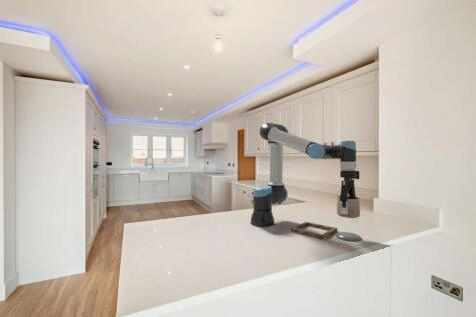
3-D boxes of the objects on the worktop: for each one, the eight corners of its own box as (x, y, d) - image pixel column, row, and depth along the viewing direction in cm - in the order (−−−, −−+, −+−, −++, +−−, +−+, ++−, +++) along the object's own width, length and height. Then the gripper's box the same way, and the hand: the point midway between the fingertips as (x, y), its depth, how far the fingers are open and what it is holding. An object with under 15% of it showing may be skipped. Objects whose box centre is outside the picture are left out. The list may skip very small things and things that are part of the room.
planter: (336, 216, 114) (336, 198, 114) (337, 212, 124) (337, 195, 124) (360, 219, 109) (360, 200, 109) (359, 214, 119) (359, 196, 119)
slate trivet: (332, 237, 116) (332, 235, 116) (339, 231, 125) (339, 230, 125) (357, 243, 108) (357, 241, 108) (363, 237, 117) (363, 235, 117)
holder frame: (290, 231, 125) (290, 228, 125) (305, 224, 139) (305, 221, 139) (324, 239, 112) (324, 236, 112) (337, 231, 126) (337, 228, 126)
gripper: (349, 171, 105) (349, 217, 105) (361, 169, 123) (361, 209, 122) (332, 170, 111) (332, 214, 110) (347, 169, 128) (347, 207, 127)
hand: (348, 212), depth 116 cm, fingers closed on planter, 11 cm apart
